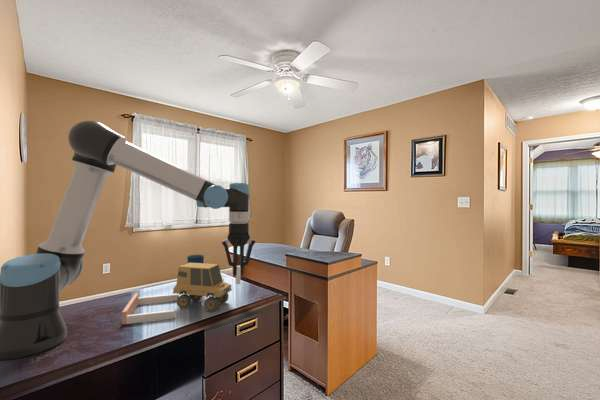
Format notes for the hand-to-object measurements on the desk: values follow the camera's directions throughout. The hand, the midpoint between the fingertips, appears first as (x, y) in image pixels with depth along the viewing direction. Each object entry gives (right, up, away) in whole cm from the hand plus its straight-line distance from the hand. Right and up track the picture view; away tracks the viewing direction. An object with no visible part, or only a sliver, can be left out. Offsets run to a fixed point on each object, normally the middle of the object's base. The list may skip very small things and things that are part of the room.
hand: (238, 283), depth 109 cm
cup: (-22, -7, +13) cm, 26 cm away
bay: (-28, -7, -10) cm, 30 cm away
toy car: (-12, -7, -4) cm, 15 cm away
